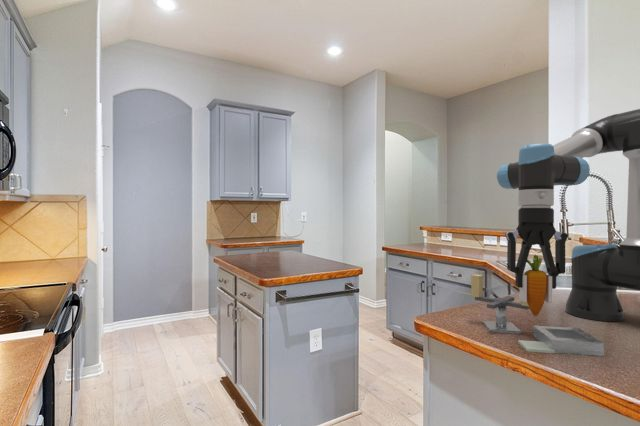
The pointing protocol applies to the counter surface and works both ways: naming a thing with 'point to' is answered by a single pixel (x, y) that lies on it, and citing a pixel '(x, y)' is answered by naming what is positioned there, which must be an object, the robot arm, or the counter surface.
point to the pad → (535, 346)
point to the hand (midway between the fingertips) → (535, 300)
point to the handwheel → (493, 302)
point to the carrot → (536, 286)
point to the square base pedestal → (501, 323)
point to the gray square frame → (568, 340)
